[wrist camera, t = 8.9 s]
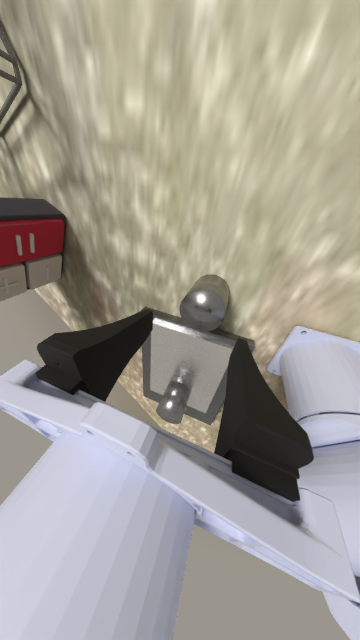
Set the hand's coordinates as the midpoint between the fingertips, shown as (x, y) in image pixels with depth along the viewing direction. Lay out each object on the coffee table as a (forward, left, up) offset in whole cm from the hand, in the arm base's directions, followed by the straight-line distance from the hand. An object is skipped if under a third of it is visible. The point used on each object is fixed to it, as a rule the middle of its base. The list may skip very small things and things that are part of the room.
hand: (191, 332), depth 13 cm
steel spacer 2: (0, 0, -8) cm, 8 cm away
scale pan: (+1, +15, -7) cm, 17 cm away
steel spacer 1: (+1, +20, -6) cm, 21 cm away
